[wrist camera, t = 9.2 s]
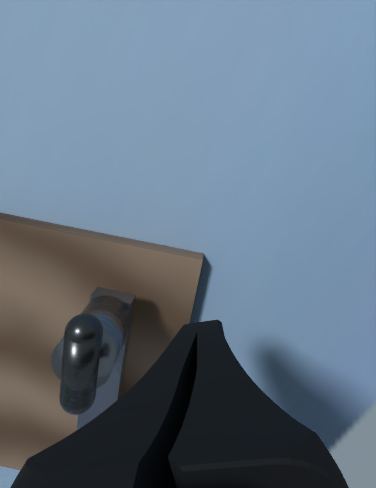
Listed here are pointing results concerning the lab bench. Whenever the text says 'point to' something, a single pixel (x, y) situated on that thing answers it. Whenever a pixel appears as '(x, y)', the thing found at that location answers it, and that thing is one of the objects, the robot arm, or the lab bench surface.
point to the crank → (94, 354)
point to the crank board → (69, 305)
